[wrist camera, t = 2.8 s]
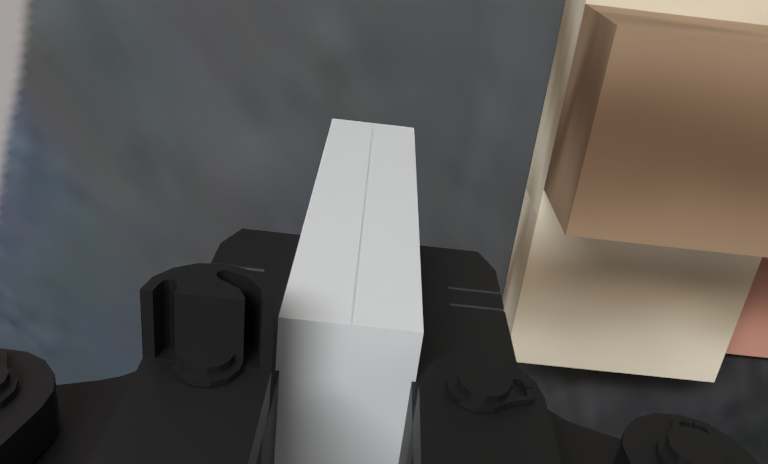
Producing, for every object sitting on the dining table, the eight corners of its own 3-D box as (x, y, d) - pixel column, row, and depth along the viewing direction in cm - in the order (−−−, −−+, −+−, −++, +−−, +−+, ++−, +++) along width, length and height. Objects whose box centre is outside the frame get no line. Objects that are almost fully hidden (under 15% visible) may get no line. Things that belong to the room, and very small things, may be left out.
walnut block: (778, 215, 25) (833, 264, 21) (543, 189, 24) (565, 235, 21) (847, 35, 22) (922, 61, 19) (585, 3, 22) (617, 24, 19)
